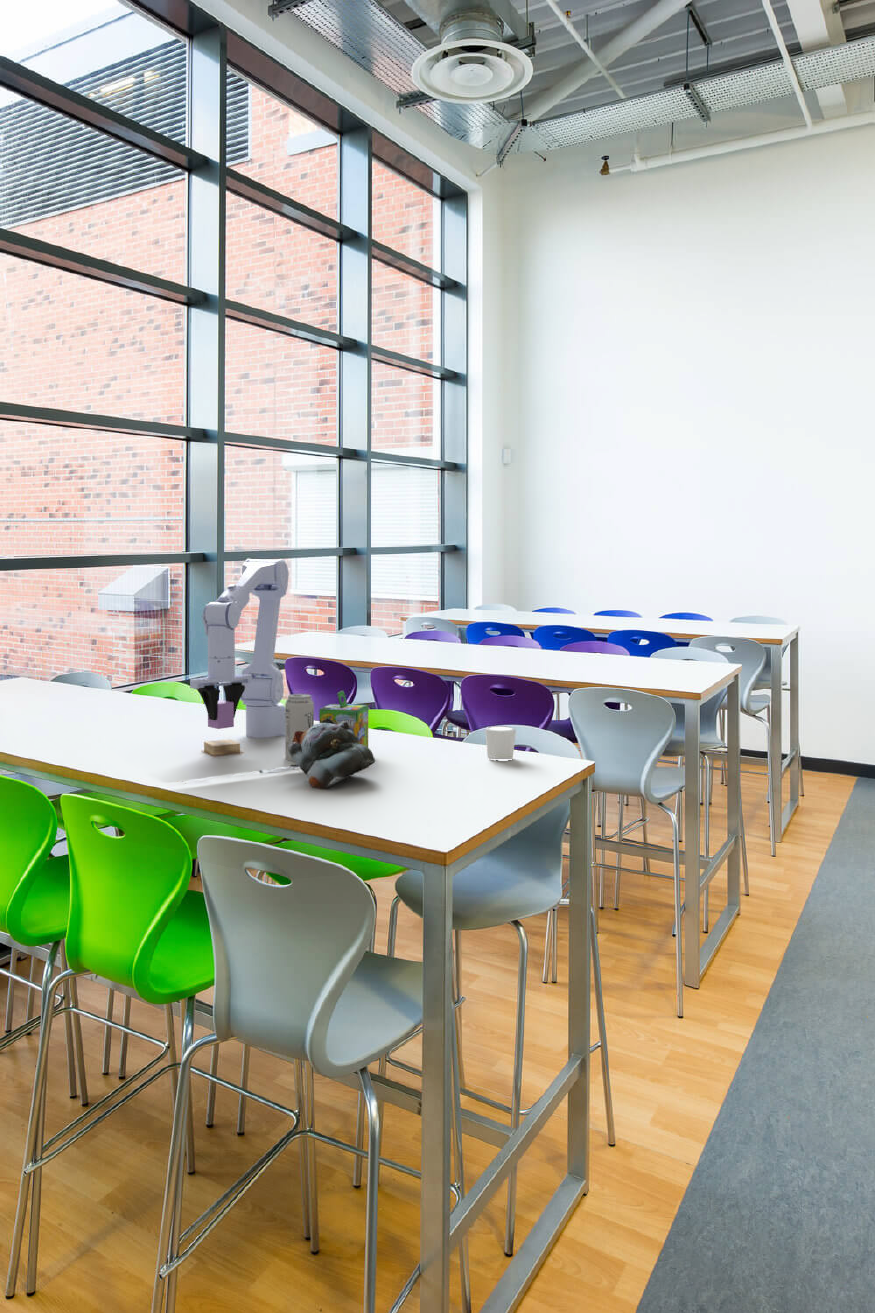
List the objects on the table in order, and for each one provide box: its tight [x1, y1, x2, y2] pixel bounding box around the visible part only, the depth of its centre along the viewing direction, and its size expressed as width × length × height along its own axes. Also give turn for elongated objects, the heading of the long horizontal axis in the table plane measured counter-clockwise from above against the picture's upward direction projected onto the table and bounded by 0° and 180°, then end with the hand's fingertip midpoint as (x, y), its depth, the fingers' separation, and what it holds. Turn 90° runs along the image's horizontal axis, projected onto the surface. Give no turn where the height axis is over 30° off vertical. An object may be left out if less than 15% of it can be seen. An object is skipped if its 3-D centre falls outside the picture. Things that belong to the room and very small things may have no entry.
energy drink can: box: [284, 693, 315, 768], centre depth 192 cm, size 6×6×15 cm
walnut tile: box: [201, 749, 244, 757], centre depth 198 cm, size 7×7×2 cm
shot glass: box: [485, 725, 517, 760], centre depth 202 cm, size 7×7×7 cm
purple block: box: [207, 699, 235, 730], centre depth 197 cm, size 4×4×6 cm
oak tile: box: [203, 738, 241, 755], centre depth 198 cm, size 6×6×2 cm
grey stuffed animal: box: [287, 718, 376, 790], centre depth 179 cm, size 15×12×14 cm
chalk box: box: [319, 690, 369, 748], centre depth 201 cm, size 9×9×15 cm
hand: (221, 718), depth 197 cm, fingers closed on purple block, 4 cm apart
